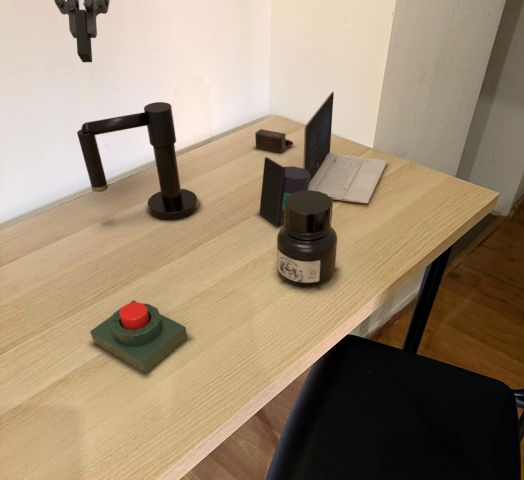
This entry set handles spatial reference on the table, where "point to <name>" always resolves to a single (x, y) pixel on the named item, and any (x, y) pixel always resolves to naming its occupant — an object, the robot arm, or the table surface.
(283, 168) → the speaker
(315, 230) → the ink bottle
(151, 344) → the control box
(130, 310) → the button
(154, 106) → the crank handle
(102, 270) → the table surface
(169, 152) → the round black base
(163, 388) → the table surface
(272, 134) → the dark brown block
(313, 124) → the laptop
